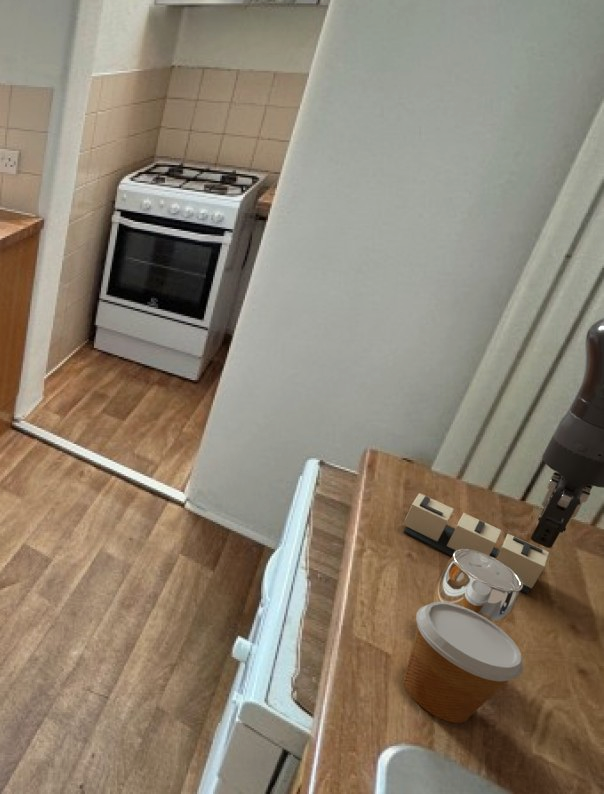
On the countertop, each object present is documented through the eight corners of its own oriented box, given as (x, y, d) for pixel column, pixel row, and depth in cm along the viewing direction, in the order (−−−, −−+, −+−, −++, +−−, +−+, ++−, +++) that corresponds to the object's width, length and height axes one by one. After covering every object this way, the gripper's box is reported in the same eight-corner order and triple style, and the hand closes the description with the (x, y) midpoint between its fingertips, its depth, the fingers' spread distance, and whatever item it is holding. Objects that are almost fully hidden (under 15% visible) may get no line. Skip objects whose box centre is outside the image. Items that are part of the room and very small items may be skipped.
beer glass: (406, 644, 84) (447, 565, 79) (416, 615, 89) (455, 539, 83) (474, 683, 79) (523, 602, 74) (481, 650, 84) (527, 572, 78)
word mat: (536, 569, 97) (537, 567, 96) (527, 595, 92) (528, 593, 92) (416, 512, 108) (416, 510, 108) (403, 532, 103) (404, 530, 103)
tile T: (536, 573, 95) (550, 550, 94) (531, 588, 93) (545, 565, 91) (496, 554, 99) (508, 532, 97) (490, 568, 96) (503, 545, 94)
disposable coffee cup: (369, 659, 82) (400, 596, 78) (440, 662, 82) (475, 600, 78) (428, 735, 73) (467, 669, 69) (508, 739, 73) (552, 674, 69)
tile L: (444, 529, 104) (454, 507, 102) (437, 541, 101) (448, 519, 99) (409, 513, 107) (419, 491, 105) (402, 524, 104) (412, 502, 103)
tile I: (490, 551, 99) (502, 528, 98) (484, 564, 97) (496, 541, 95) (453, 533, 103) (464, 511, 101) (446, 546, 100) (457, 523, 98)
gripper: (626, 479, 81) (574, 569, 87) (636, 441, 89) (588, 526, 94) (545, 450, 87) (501, 536, 92) (562, 416, 94) (520, 497, 100)
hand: (545, 531), depth 93 cm, fingers open, 8 cm apart
